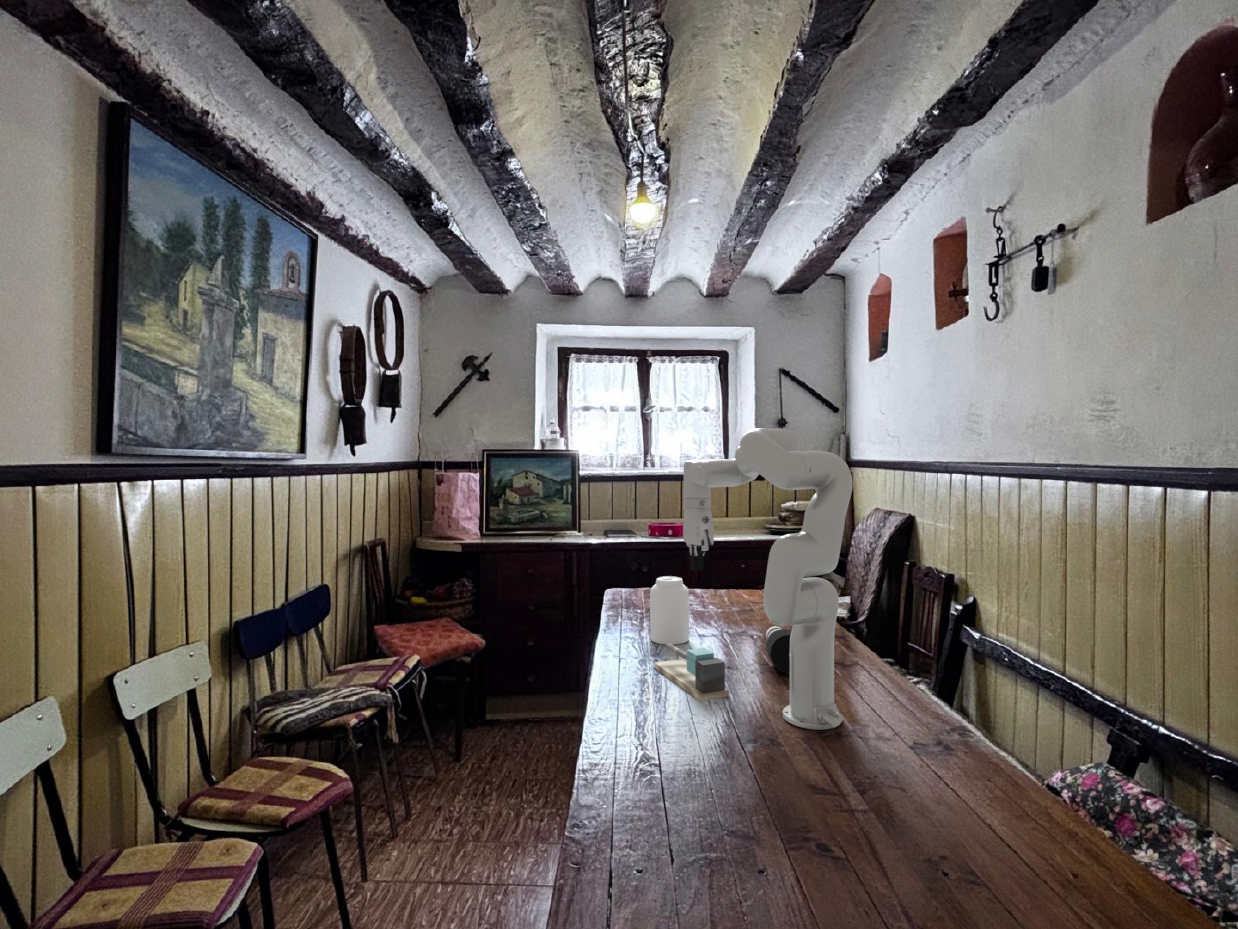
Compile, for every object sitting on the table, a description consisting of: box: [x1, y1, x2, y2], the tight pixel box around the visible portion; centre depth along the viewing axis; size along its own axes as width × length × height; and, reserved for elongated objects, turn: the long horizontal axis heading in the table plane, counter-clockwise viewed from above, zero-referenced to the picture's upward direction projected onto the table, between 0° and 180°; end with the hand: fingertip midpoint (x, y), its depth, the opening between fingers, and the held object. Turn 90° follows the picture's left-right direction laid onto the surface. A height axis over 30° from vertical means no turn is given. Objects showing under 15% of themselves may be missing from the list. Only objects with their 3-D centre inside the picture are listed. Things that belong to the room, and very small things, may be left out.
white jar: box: [649, 575, 690, 646], centre depth 208 cm, size 12×12×20 cm
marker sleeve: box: [686, 647, 715, 676], centre depth 164 cm, size 5×5×5 cm
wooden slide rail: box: [653, 643, 729, 702], centre depth 170 cm, size 26×8×8 cm, turn 22°
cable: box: [765, 625, 792, 675], centre depth 190 cm, size 10×34×10 cm, turn 171°
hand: (697, 569), depth 182 cm, fingers closed
